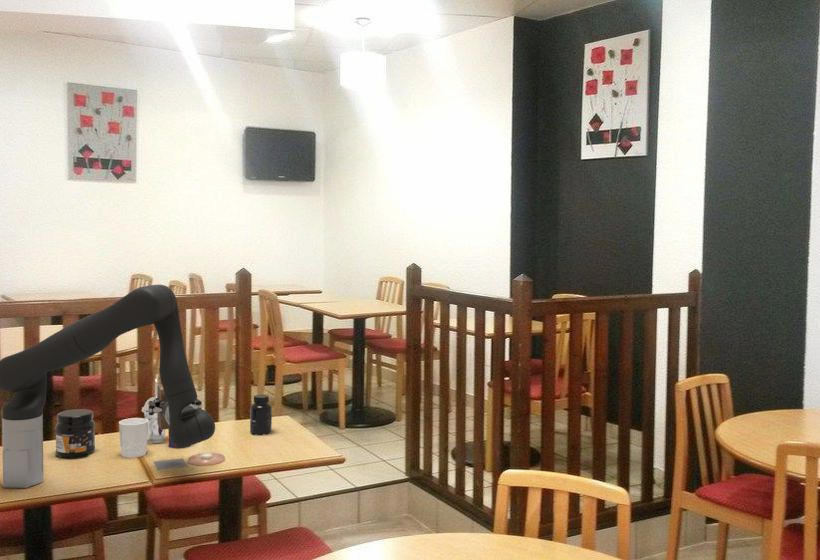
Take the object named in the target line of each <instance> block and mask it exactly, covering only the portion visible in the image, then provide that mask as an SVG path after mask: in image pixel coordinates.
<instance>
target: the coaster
mask: <svg viewBox="0 0 820 560" xmlns="http://www.w3.org/2000/svg"><path fill="white" fill-rule="evenodd" d="M152 463H153V464H154V466H155V468H156V470H157V471H159V470H160V471H161V470H168V469H170V470H171V469H175V468H176V469H178V468H186V467H189V466H188V464H187V462H186V461H185V459H184V458H183V457H182V458H181V457H180V458H173V459H163V460H156V461H155V460H153V462H152Z"/></svg>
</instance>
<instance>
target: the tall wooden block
mask: <svg viewBox="0 0 820 560" xmlns="http://www.w3.org/2000/svg"><path fill="white" fill-rule="evenodd" d="M157 398H159V400H167V399H166V396H165V393H164V389H163V386H162V384H158V385H157ZM157 424H158V426H159V427H160V429H161V430H163V429H165V430H168V429H169V424H168V423H167V421H166V420H165V418H164V416H163V414H161V413H160V412H157Z"/></svg>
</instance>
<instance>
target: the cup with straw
mask: <svg viewBox="0 0 820 560" xmlns="http://www.w3.org/2000/svg"><path fill="white" fill-rule="evenodd" d="M159 376H160V373H156V374H155V380H154V391H155V393H154V396H153V397H150V398H148V399H147V400H146V401H145V403H144V406H142V407H141V412H142V413H143V415H144V419H147V420H148V436H147V440H148V443H150V444H161V443H163V442H165V439H164V438H165V435H166V429H163V430H161V429H160V427H159V426H158V424H157V412H155V414H154V415H149V411H148V409H149V404H148V402H149V401H153V400H155V399H156V398H157V385H159V384H158V383H159V381H158V380H159Z"/></svg>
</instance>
